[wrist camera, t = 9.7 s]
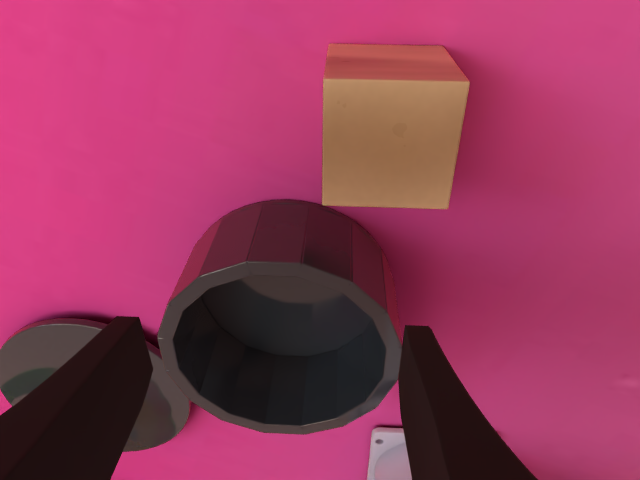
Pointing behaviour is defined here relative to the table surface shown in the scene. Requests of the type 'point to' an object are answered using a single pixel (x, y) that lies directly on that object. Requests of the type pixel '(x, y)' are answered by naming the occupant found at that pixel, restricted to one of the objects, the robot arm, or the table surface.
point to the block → (391, 125)
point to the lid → (62, 344)
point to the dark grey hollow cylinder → (284, 320)
